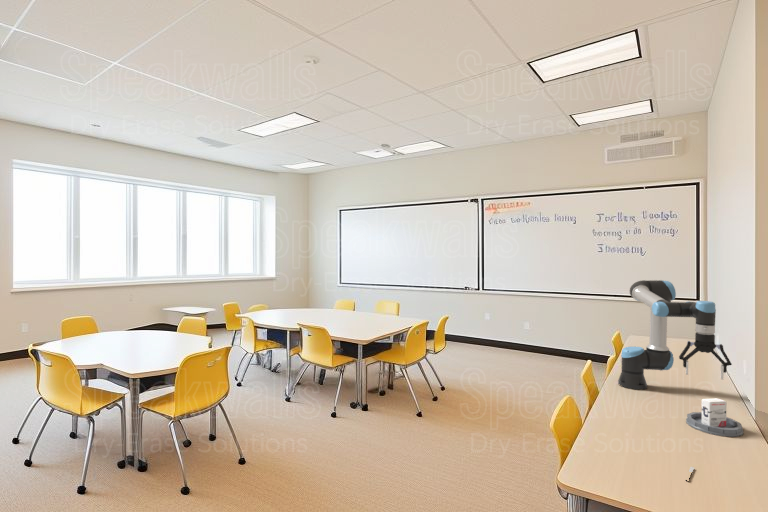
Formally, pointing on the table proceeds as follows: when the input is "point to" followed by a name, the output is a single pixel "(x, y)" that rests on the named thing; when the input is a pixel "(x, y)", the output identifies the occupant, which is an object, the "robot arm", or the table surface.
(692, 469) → the grey thin rod
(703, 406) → the ink box
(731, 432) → the round bowl
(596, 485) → the table surface
